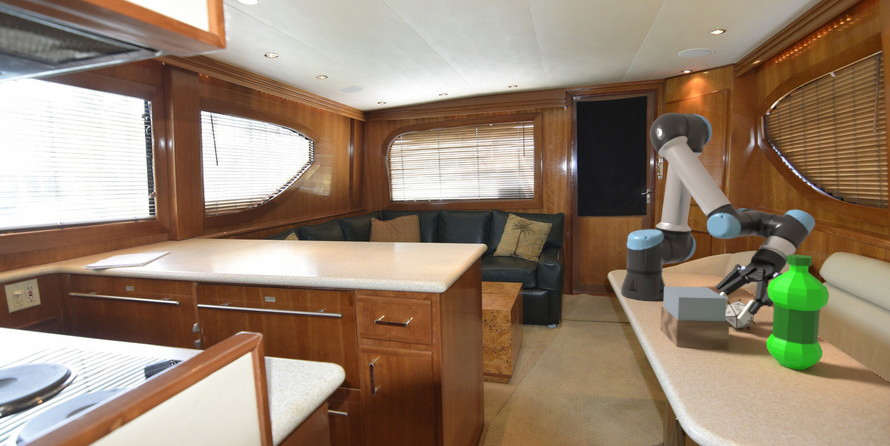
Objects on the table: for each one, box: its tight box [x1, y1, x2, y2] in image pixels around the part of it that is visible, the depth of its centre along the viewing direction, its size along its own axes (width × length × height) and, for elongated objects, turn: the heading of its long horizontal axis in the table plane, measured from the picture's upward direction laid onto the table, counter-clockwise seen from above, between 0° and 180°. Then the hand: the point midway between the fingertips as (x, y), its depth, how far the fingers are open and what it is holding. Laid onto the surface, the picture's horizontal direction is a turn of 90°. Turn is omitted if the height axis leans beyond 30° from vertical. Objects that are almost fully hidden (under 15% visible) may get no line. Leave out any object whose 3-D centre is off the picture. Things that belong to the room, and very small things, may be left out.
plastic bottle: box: [766, 254, 830, 370], centre depth 97 cm, size 10×10×25 cm
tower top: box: [662, 285, 727, 322], centre depth 113 cm, size 11×11×6 cm
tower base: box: [660, 306, 730, 350], centre depth 114 cm, size 12×12×7 cm
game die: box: [725, 298, 756, 332], centre depth 121 cm, size 9×8×10 cm
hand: (726, 316), depth 121 cm, fingers closed on game die, 8 cm apart
